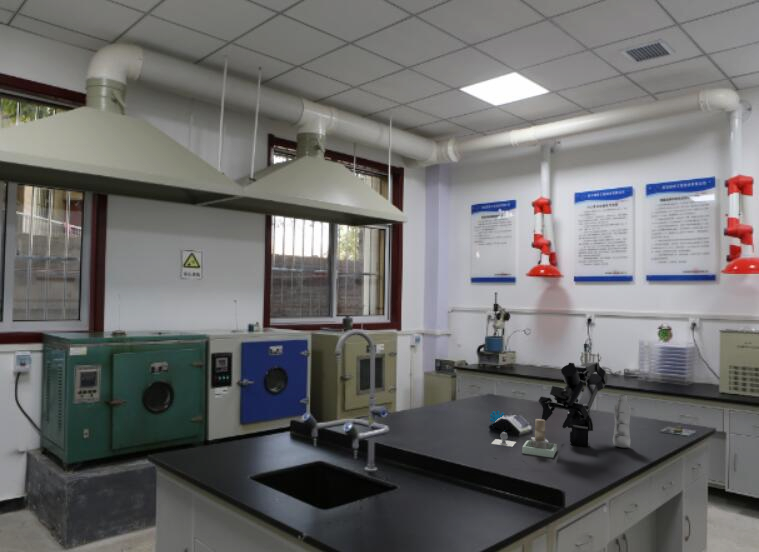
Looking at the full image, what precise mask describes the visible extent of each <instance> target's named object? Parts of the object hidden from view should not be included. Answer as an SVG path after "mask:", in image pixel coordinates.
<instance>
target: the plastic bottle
mask: <svg viewBox="0 0 759 552" xmlns="http://www.w3.org/2000/svg"><path fill="white" fill-rule="evenodd" d="M616 400H617V402H616V403H615V405H613V406H614V407H613V416H614V429H613V434H612V435H613V436H612V443H613V446H615V447H618V448H623V449H624V448H626V449H627V448H629V447H630V446H631V442H632V441H631V436H630V419H631V415H632V408H631V406H630V404H629V403H628V400H629V399H628V395H625V394H617V399H616Z"/></svg>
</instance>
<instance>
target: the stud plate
mask: <svg viewBox="0 0 759 552" xmlns="http://www.w3.org/2000/svg"><path fill="white" fill-rule="evenodd" d="M508 436H509V435H508V433H507V432H505V431H502V432H501V433H500V436H499V437H500V439H499V438H498V439H497V438H495V439H494V440H493V441H492V442H491V445H498V446H504V447H510V448H511V447H512V448H513V446H514V445H515V444H516V443H517V441H511V440H508Z"/></svg>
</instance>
